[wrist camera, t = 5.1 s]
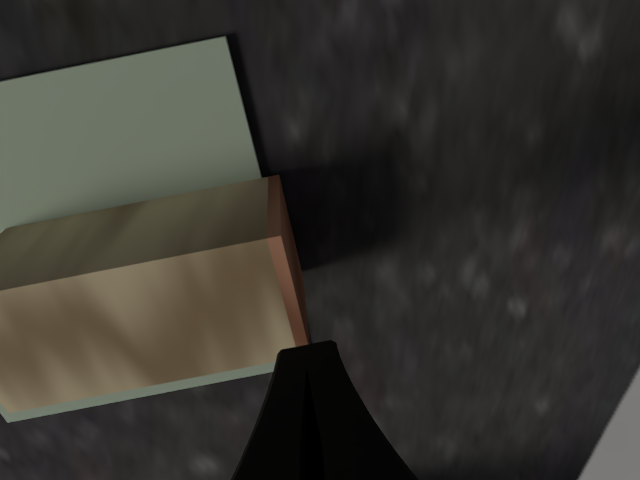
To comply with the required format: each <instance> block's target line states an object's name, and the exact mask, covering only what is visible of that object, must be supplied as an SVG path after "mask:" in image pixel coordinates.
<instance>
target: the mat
mask: <svg viewBox="0 0 640 480" xmlns="http://www.w3.org/2000/svg"><path fill="white" fill-rule="evenodd" d="M259 178H262V175H261V171H260V167H259V163H258V159H257V156H256V152H255V148H254V144H253V140H252V136H251V132H250V128H249V124H248V120H247V116H246V112H245V108H244V104H243V100H242V96H241V93H240V89H239V85H238V81H237V77H236V73H235V69H234V65H233V61H232V57H231V53H230V49H229V45H228V41H227V37H226V36H221V37H216V38H211V39H206V40H201V41H196V42H191V43H186V44H181V45H176V46H171V47H166V48H161V49H156V50H151V51H146V52H141V53H136V54H131V55H126V56H121V57H116V58H111V59H106V60H102V61H97V62H92V63H87V64H82V65H77V66H72V67H67V68H62V69H57V70H52V71H47V72H42V73H37V74H32V75H27V76H22V77H17V78H12V79H7V80H2V81H0V234H1V233H2V232H3V231H4V230H5V229H6V228H11V227H16V226H21V225H26V224H31V223H36V222H41V221H46V220H51V219H56V218H61V217H66V216H71V215H76V214H82V213H87V212H92V211H97V210H102V209H107V208H112V207H117V206H122V205H127V204H132V203H137V202H142V201H147V200H152V199H158V198H163V197H168V196H173V195H178V194H183V193H188V192H193V191H198V190H203V189H208V188H213V187H218V186H223V185H229V184H234V183H239V182H244V181H249V180H254V179H259ZM275 363H276V362H272V363H267V364H262V365H257V366H251V367H246V368H241V369H236V370H231V371H225V372H220V373H215V374H210V375H205V376H199V377H194V378H189V379H184V380H179V381H174V382H168V383H163V384H158V385H153V386H148V387H142V388H137V389H132V390H127V391H122V392H116V393H111V394H106V395H101V396H96V397H90V398H85V399H80V400H75V401H70V402H64V403H59V404H54V405H49V406H44V407H39V408H33V409H28V410H23V411H18V412H13V413H8V412H7V411H6V410H5V408H4V407H3V406H2V404H1V403H0V413H1V415H2V416H3V417H4V419H5V420H6V421H7V423H9V422H14V421H19V420H24V419H30V418H35V417H40V416H45V415H50V414H56V413H61V412H66V411H71V410H76V409H82V408H87V407H92V406H97V405H102V404H108V403H113V402H118V401H123V400H128V399H134V398H139V397H144V396H149V395H154V394H160V393H165V392H170V391H175V390H180V389H186V388H191V387H196V386H201V385H206V384H212V383H217V382H222V381H227V380H232V379H238V378H243V377H248V376H253V375H258V374H264V373H269V372H273V371H274V367H275Z"/></svg>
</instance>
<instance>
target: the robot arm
mask: <svg viewBox="0 0 640 480" xmlns="http://www.w3.org/2000/svg"><path fill="white" fill-rule="evenodd" d="M231 480H418V479H417V477H416V476H415V475H414V474H413V473H412V471H411V470H410V469H409V468H408V466H407V465H406V464H405V463H404V461H403V460H402V459H401V458H400V456H399V455H398V454H397V452H396V451H395V450H394V448H393V447H392V445H391V444H390V443H389V441H388V440H387V439H386V437H385V436H384V434H383V433H382V431H381V430H380V428H379V427H378V425H377V424H376V422H375V421H374V419H373V418H372V416H371V415H370V413H369V412H368V410H367V408H366V407H365V405H364V403H363V402H362V400H361V398H360V396H359V395H358V393H357V391H356V390H355V388H354V386H353V384H352V382H351V380H350V378H349V376H348V374H347V372H346V370H345V368H344V365H343V363H342V361H341V358H340V355H339V352H338V349H337V344H336V343H335V342H334V341H332V340H329V341H323V342H318V343H313V344H308V345H302V346H297V347H292V348H287V349H282V350H280V351H279V353H278V354H277V358H276V363H275V367H274V371H273V374H272V378H271V381H270V385H269V388H268V391H267V394H266V397H265V400H264V403H263V405H262V408H261V411H260V414H259V416H258V419H257V422H256V424H255V427H254V430H253V432H252V434H251V437H250V439H249V441H248V444H247V446H246V448H245V450H244V453H243V455H242V457H241V460H240V462H239V464H238V466H237V468H236V470H235V472H234V474H233V477H232V479H231Z"/></svg>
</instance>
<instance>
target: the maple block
mask: <svg viewBox="0 0 640 480" xmlns="http://www.w3.org/2000/svg"><path fill="white" fill-rule="evenodd" d="M308 344H310V343H309V333H308V322H307V312H306V302H305V292H304V282H303V275H302V270H301V266H300V262H299V258H298V253H297V249H296V245H295V241H294V236H293V232H292V228H291V223H290V219H289V215H288V211H287V206H286V202H285V198H284V194H283V189H282V185H281V181H280V176H279V175H274V176H269V177H264V178H259V179H254V180H249V181H244V182H239V183H234V184H229V185H223V186H218V187H213V188H208V189H203V190H198V191H193V192H188V193H183V194H178V195H173V196H168V197H163V198H158V199H152V200H147V201H142V202H137V203H132V204H127V205H122V206H117V207H112V208H107V209H102V210H97V211H92V212H87V213H82V214H76V215H71V216H66V217H61V218H56V219H51V220H46V221H41V222H36V223H31V224H26V225H21V226H16V227H11V228H6V229H5V230H4V231H3V232H2V233H1V234H0V403H1V404H2V406H3V407H4V408H5V410H6V411H7V412H8V413H13V412H18V411H23V410H28V409H33V408H39V407H44V406H49V405H54V404H59V403H64V402H70V401H75V400H80V399H85V398H90V397H96V396H101V395H106V394H111V393H116V392H122V391H127V390H132V389H137V388H142V387H148V386H153V385H158V384H163V383H168V382H174V381H179V380H184V379H189V378H194V377H199V376H205V375H210V374H215V373H220V372H225V371H231V370H236V369H241V368H246V367H251V366H257V365H262V364H267V363H272V362H276V358H277V354H278V353H279V351H280V350H282V349H287V348H292V347H297V346H302V345H308Z"/></svg>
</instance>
